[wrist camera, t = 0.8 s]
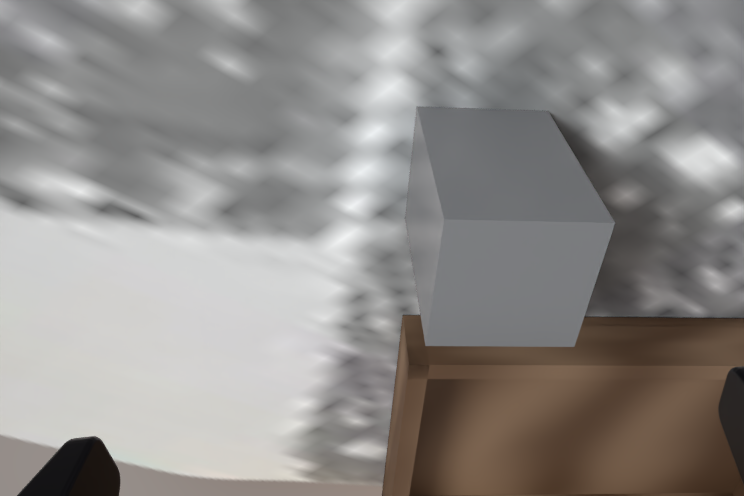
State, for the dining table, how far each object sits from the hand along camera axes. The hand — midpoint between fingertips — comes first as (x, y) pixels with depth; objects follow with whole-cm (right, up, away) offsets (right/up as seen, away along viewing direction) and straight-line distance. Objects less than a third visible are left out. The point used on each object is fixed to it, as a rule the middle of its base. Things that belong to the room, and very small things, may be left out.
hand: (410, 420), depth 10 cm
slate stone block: (+3, +5, +12) cm, 13 cm away
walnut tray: (+9, -5, +19) cm, 22 cm away
